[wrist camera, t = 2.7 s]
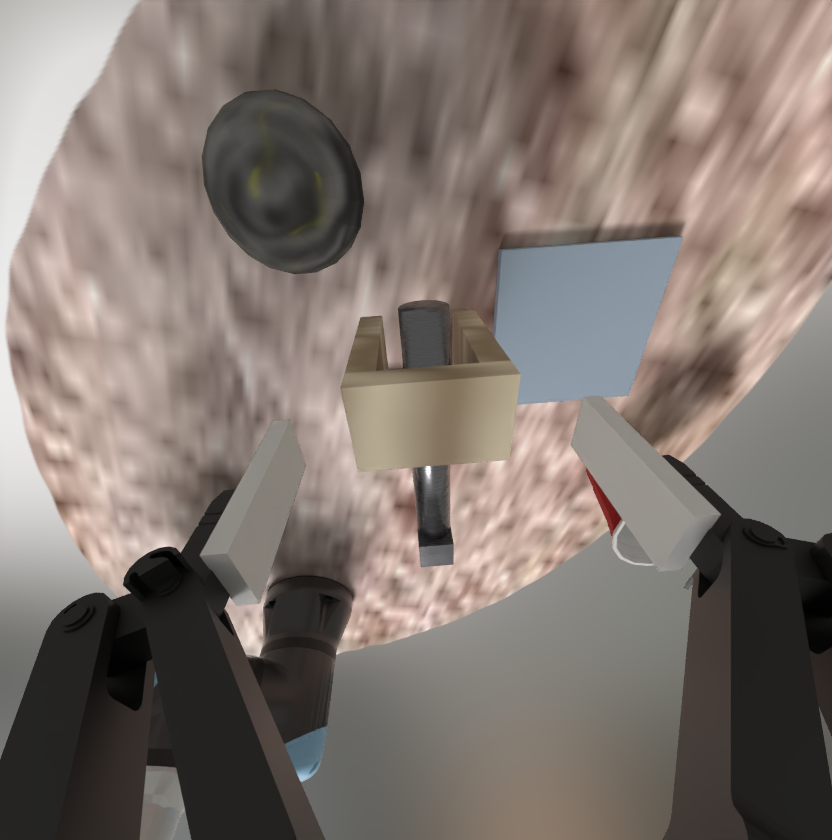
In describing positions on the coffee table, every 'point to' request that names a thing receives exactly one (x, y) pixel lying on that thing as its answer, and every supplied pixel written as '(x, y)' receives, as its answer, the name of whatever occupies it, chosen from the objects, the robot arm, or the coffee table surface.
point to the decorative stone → (282, 181)
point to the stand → (427, 348)
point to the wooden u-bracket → (430, 401)
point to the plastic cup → (620, 531)
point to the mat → (579, 314)
